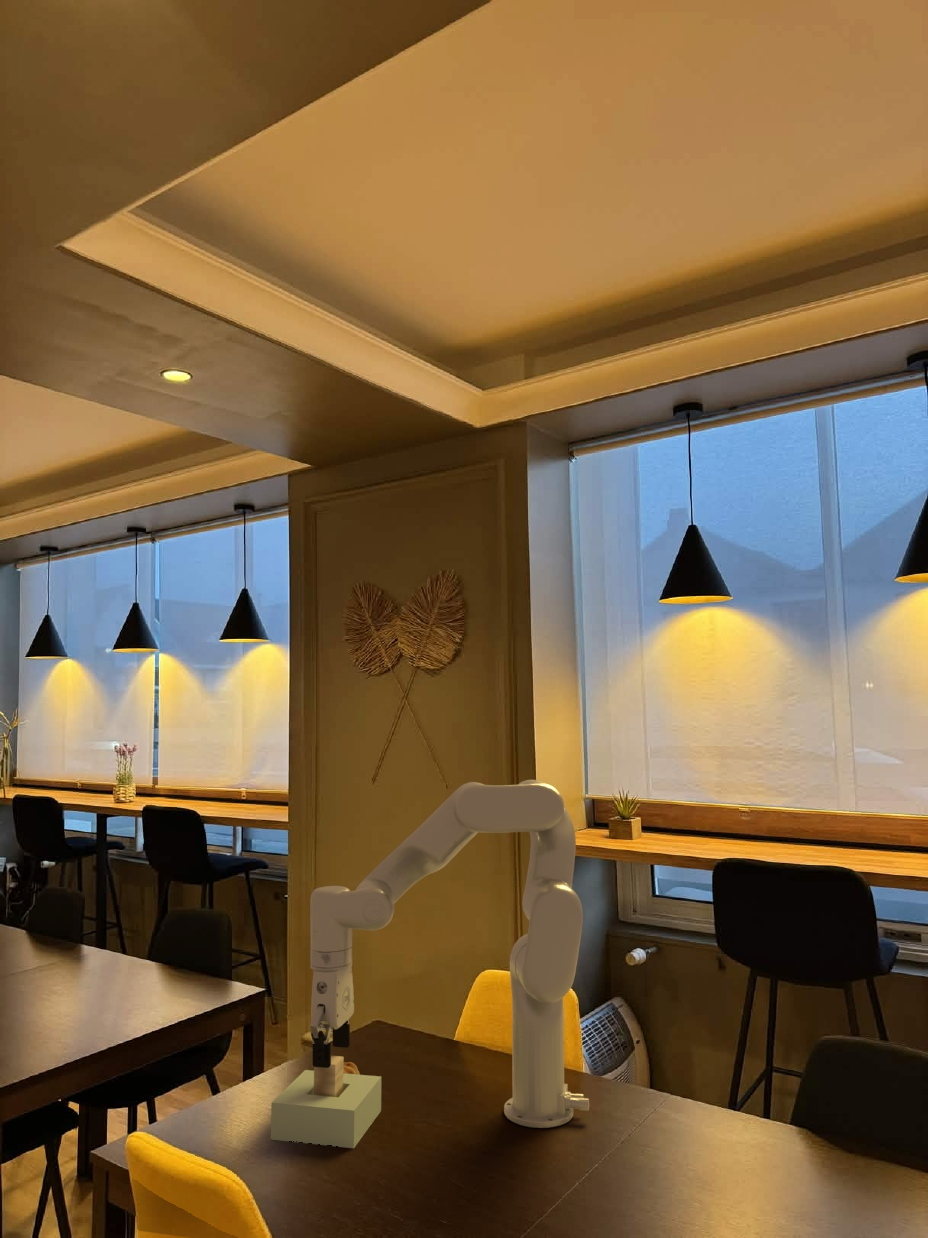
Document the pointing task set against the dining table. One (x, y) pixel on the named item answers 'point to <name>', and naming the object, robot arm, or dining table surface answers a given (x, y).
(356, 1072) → the pastry
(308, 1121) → the well block
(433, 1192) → the dining table surface
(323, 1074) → the birch block
